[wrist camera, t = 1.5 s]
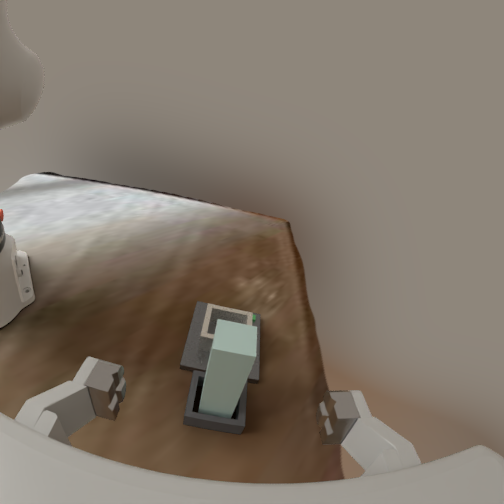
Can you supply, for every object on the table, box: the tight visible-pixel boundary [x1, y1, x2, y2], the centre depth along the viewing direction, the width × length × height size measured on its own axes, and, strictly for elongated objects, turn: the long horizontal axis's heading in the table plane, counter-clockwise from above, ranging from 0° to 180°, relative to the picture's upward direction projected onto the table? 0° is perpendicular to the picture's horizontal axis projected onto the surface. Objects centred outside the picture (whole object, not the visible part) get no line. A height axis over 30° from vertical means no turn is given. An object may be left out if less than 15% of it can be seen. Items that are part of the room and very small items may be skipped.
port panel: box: [180, 301, 260, 384], centre depth 44 cm, size 14×11×4 cm
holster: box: [183, 370, 247, 434], centre depth 33 cm, size 7×7×2 cm
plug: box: [198, 319, 257, 419], centre depth 31 cm, size 4×4×14 cm
